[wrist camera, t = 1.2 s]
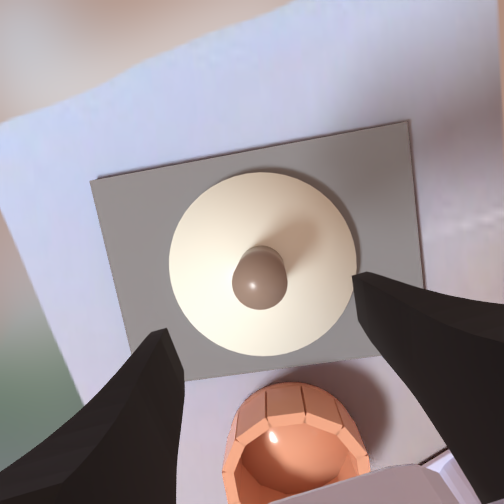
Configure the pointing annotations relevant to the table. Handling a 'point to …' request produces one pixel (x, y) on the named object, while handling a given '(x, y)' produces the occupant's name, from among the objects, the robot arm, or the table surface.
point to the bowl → (290, 444)
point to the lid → (262, 264)
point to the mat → (269, 161)
